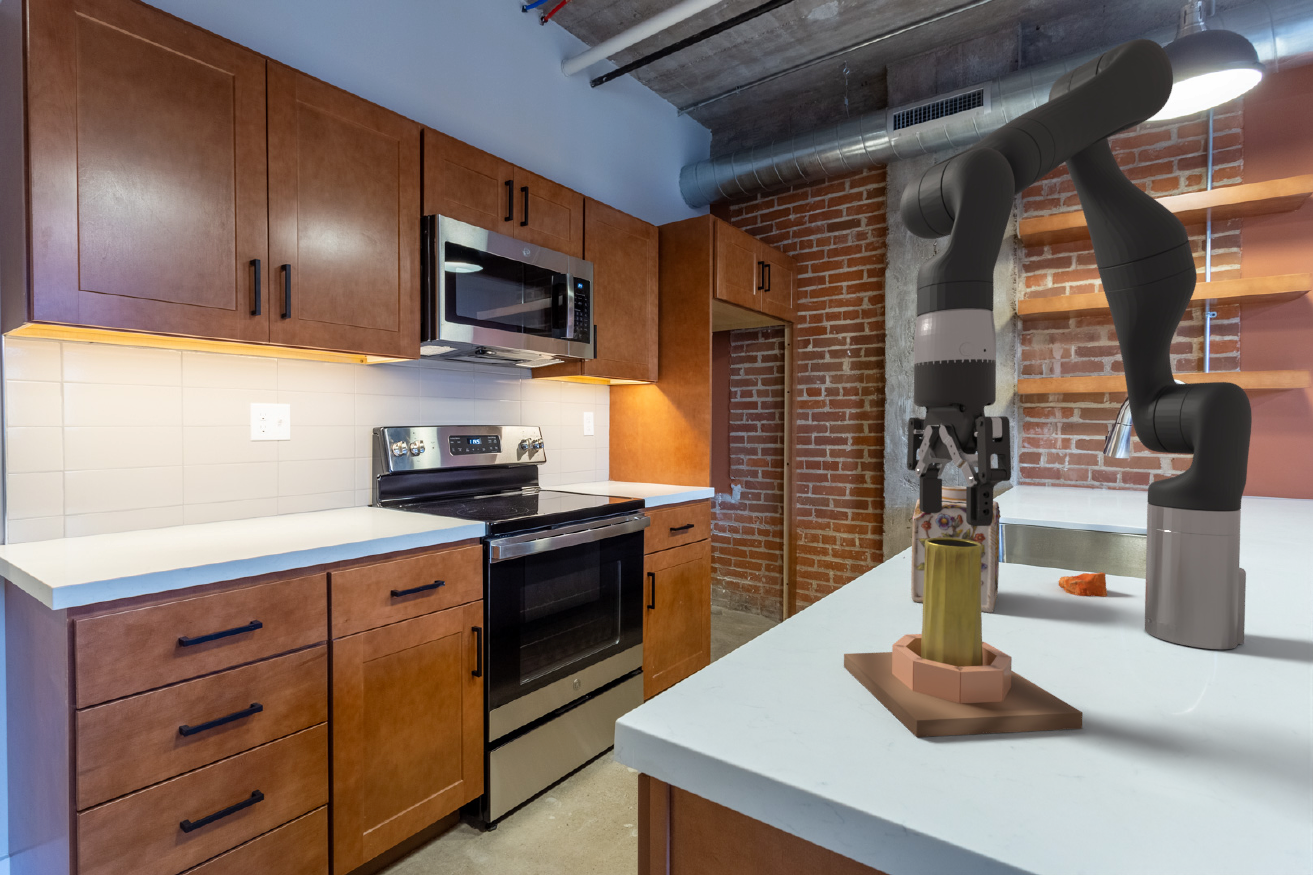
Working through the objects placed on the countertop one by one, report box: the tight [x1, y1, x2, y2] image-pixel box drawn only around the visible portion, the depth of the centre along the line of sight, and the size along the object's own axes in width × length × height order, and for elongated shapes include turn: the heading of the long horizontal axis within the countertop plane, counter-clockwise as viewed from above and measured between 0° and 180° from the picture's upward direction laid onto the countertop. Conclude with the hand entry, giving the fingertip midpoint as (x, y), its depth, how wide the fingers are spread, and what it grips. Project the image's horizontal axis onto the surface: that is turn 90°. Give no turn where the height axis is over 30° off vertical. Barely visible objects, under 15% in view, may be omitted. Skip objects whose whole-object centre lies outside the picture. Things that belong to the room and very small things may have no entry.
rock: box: [1057, 571, 1108, 598], centre depth 104 cm, size 12×12×4 cm
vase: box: [921, 538, 983, 667], centre depth 64 cm, size 6×6×14 cm
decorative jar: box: [910, 485, 1001, 614], centre depth 99 cm, size 12×12×18 cm
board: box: [843, 651, 1083, 738], centre depth 64 cm, size 16×16×2 cm
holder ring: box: [891, 633, 1013, 703], centre depth 64 cm, size 10×10×3 cm
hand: (953, 518), depth 64 cm, fingers open, 8 cm apart
